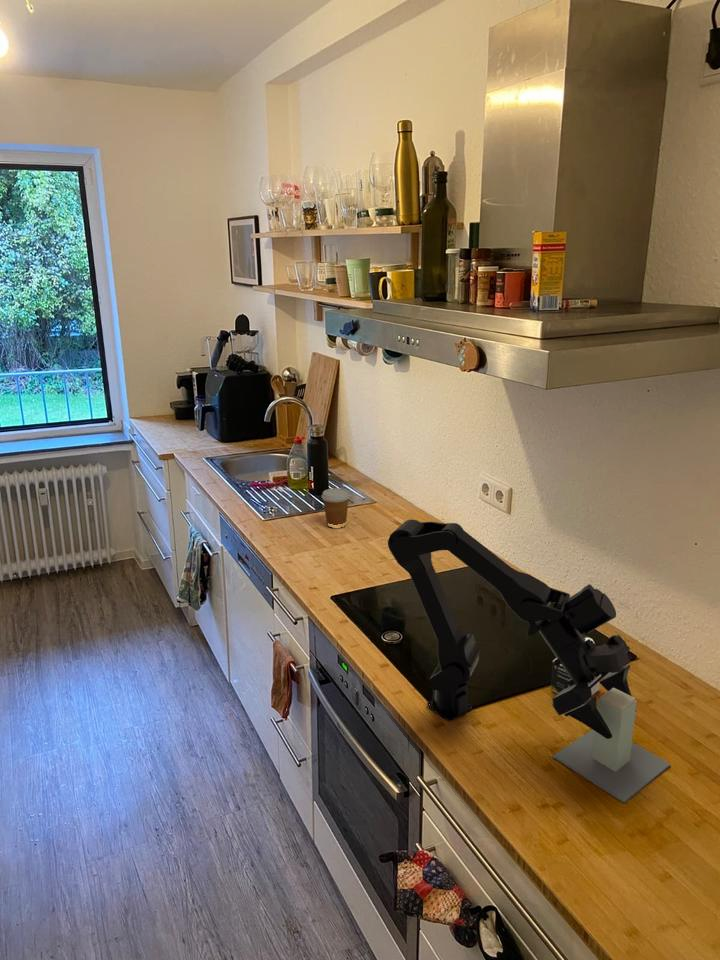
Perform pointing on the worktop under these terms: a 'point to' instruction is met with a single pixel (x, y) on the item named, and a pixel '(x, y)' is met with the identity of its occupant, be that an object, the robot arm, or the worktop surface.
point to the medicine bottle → (565, 676)
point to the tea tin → (615, 729)
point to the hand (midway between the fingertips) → (622, 725)
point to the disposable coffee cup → (336, 505)
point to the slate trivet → (615, 783)
